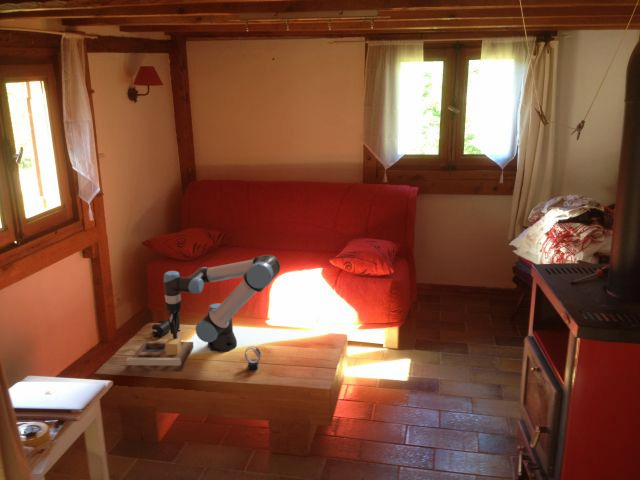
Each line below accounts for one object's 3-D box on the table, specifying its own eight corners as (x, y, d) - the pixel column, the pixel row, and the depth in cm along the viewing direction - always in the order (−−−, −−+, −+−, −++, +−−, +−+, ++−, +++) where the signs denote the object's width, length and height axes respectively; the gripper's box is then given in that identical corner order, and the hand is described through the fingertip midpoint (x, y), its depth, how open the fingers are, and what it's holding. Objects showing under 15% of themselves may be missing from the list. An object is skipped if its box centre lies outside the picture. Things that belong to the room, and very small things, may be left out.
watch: (261, 370, 286) (260, 350, 283) (244, 370, 286) (243, 350, 283) (262, 365, 292) (261, 344, 289) (246, 365, 292) (245, 344, 289)
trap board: (193, 347, 311) (192, 336, 310) (180, 371, 286) (179, 359, 285) (144, 346, 312) (143, 336, 311) (127, 370, 287) (126, 359, 286)
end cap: (163, 338, 322) (162, 327, 320) (152, 337, 324) (151, 325, 322) (173, 331, 331) (172, 319, 329) (162, 329, 333) (161, 318, 331)
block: (181, 349, 302) (180, 338, 300) (177, 355, 296) (177, 344, 294) (169, 349, 302) (168, 338, 301) (166, 354, 296) (165, 343, 295)
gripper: (169, 296, 303) (172, 338, 310) (161, 306, 291) (165, 349, 297) (184, 296, 303) (186, 338, 309) (176, 306, 290) (179, 350, 297)
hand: (176, 344), depth 303 cm, fingers closed
